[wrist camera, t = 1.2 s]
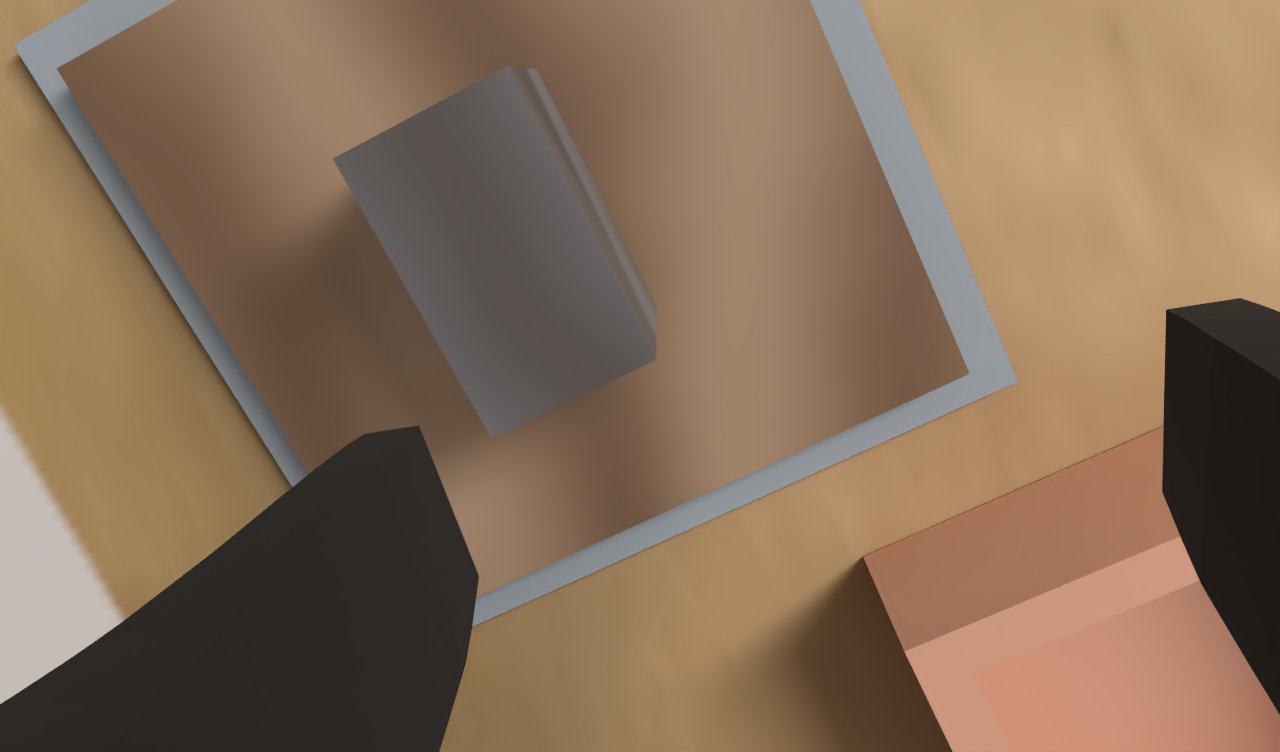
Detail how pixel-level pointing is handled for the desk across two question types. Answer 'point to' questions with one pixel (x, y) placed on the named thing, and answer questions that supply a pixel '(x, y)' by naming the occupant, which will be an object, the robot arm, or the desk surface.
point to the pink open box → (1072, 621)
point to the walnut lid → (529, 239)
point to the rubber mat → (940, 250)
